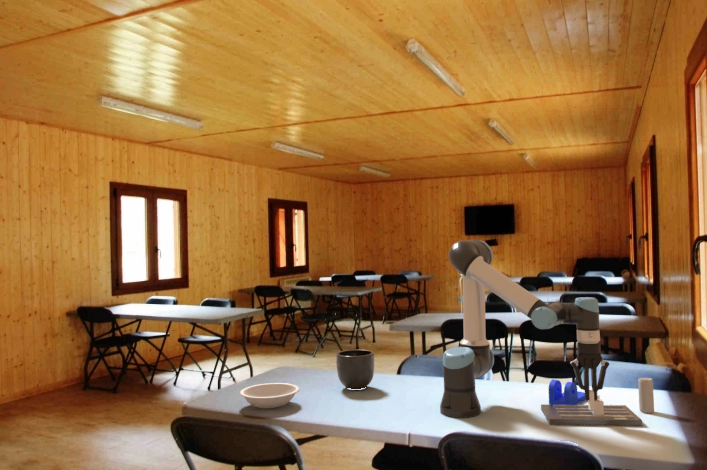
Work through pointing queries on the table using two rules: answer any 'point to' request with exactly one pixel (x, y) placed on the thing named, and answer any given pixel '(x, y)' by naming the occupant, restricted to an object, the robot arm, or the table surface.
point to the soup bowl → (269, 394)
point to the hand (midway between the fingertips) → (591, 409)
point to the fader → (598, 407)
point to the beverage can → (646, 395)
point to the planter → (355, 368)
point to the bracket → (564, 394)
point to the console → (590, 415)
